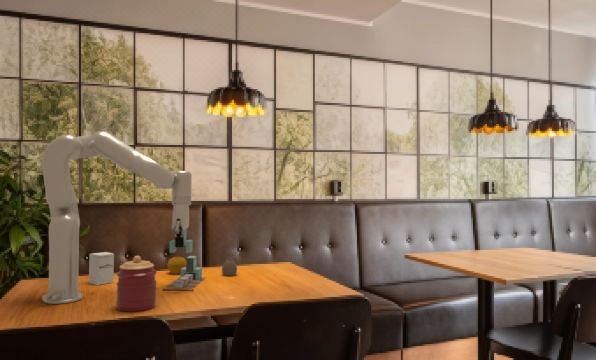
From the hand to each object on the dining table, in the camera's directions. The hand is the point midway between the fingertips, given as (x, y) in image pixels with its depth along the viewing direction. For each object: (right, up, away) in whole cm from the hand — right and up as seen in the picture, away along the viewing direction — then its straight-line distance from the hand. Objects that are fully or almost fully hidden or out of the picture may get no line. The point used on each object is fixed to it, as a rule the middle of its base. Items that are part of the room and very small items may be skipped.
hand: (181, 245), depth 178 cm
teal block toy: (0, -3, 0) cm, 3 cm away
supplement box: (-37, -18, +10) cm, 42 cm away
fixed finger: (0, -17, +16) cm, 23 cm away
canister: (-9, -18, -26) cm, 32 cm away
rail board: (0, -18, +8) cm, 19 cm away
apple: (-9, -18, +27) cm, 34 cm away
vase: (+16, -18, +24) cm, 34 cm away
